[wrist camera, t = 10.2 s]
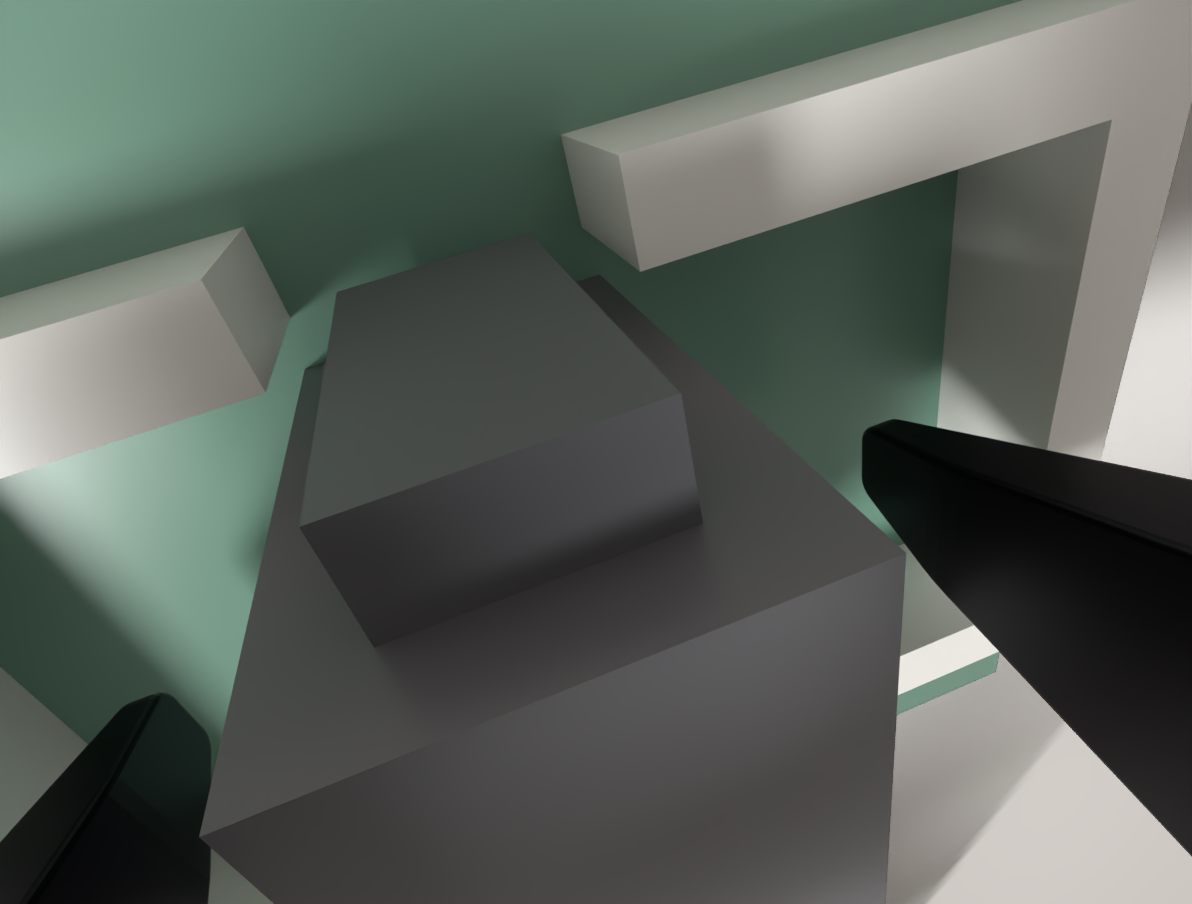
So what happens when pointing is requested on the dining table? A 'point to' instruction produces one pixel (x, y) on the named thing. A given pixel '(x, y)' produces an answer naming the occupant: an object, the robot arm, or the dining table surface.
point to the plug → (553, 622)
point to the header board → (563, 228)
